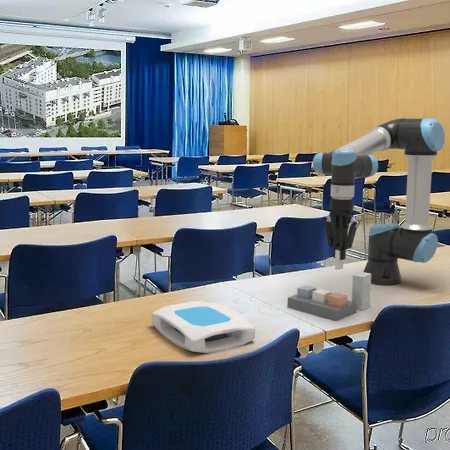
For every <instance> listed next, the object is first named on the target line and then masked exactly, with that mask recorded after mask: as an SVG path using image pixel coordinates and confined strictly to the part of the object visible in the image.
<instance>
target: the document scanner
mask: <svg viewBox="0 0 450 450" xmlns="http://www.w3.org/2000/svg"><path fill="white" fill-rule="evenodd" d="M151 323H152V324H153V326H154V327H155V329H156V330H157V331H158V332H159V333H160V334H161V335H162V336H163V337H165V338H166V339H168V340H169V341H171V342H172V343H173V344H175V345H176V346H177V347H179V348H180V349H183V350H186V351H190V352H193V353H194V352H195V353H200V354H201V353H203V354H212V353H216V352H217V353H218V352H221V351H225V350H229V349H234V348H239V347H242V346H245V345H246V344H248V343H249V342H251V341H253V340H255V338H256V327H255V325H253V324H252V323H251V322H250V321H249V320H248V319H247V318H246V317H245V316H243V315H241V314H239V313H238V312H236V311H234V310H232V309H230V308H229V307H226V306H224V305H223V304H220V303H213V302H208V301H200V300H193V301H187V302H182V303H175V304H169V305H165V306H164V307H161V308H159V309H157V310H155V311H153V312H152V313H151ZM223 334H225V335H226V336H227V337H224V338H221V339H217V340H212V341H211V340H210V341H206V339H208V338H211V337H212V336H217V335H223Z"/></svg>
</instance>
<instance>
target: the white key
mask: <svg viewBox="0 0 450 450" xmlns="http://www.w3.org/2000/svg"><path fill="white" fill-rule="evenodd" d="M331 294H333V293H332V291H330V290H328V289H327V290H326V289H323V288H319V289H316V291H313V292H312V301H316V302H320V303H326V302H328V295H331Z"/></svg>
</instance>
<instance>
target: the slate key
mask: <svg viewBox="0 0 450 450" xmlns="http://www.w3.org/2000/svg"><path fill="white" fill-rule="evenodd" d="M316 290H317V287H315V286H309V285H307V284H306V285H302V286H299V287H297V291H296V292H297V293H296V295H297V297H301V298H305V299H311V298H312V292H313V291H316Z"/></svg>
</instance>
